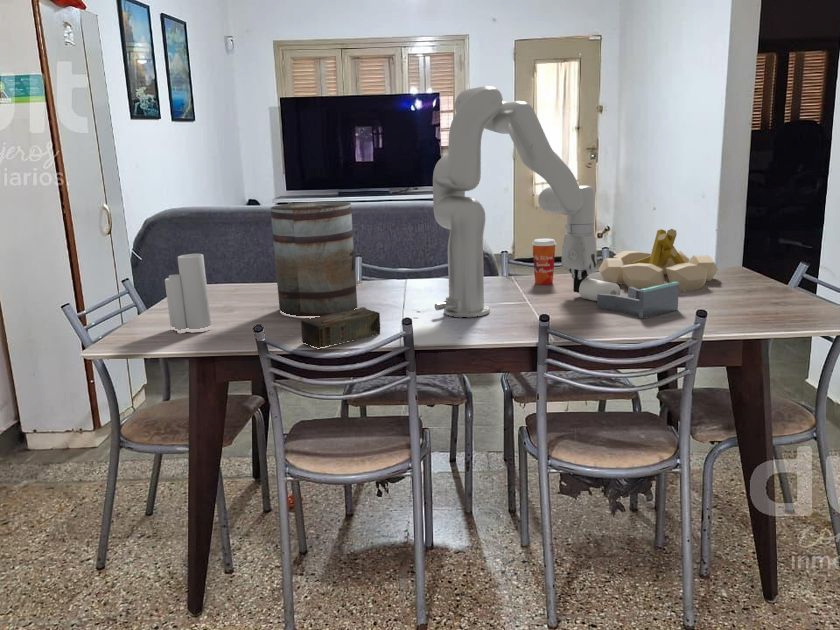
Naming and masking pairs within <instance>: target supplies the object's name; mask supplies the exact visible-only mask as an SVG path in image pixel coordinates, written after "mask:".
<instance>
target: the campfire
mask: <svg viewBox="0 0 840 630" xmlns="http://www.w3.org/2000/svg"><path fill="white" fill-rule="evenodd" d="M677 236H678V235H677V230H676V229H673V228H670V229H668V230H667V231H666V230H665V229H661V228H660V229H657V231H656V235H655V238H654V242H653V246H652V249H651V253H648V252H645V251H639V250H638V251H637V250H624V251H620V252H619V253H617V254H615V255H614V256H613V257H609V258H608V257H606V258H604V259H603V261H602V262H601V264H600V266H599V267H598V272H599V274H600V275H601V277H602V279H603V281H605V282H611V283H616V284H618V285H622V284H623V283H624V284H625V285H626V286H627V288H628V287H634V288H637V289H639V290H640V289H644V288H648V287H653V286H657V285H662V284H665V277H664V275H665V274H667V275H666V276H667V278H668V281H669V282H668V283H671V282H679V291H681V292H688V291H696V290H701V289H702V288H703V287H704V285H706V282H711V281H712V280H713V278H714V277H715V275H716V274H717V272H718V271H719V268H718V267H717V265H716V263H715V261H714V260H713V258H712V257H711V256H710V255H708V254H707V255H706V254H704V255H703V254H701V255H698V254H697V255H692V256H691V257H690V258H689V257H687V255H686V254H685V253H684V252H683V251H682V250H677V249H676V248H675V246H674V244H675V240H676V238H677Z"/></svg>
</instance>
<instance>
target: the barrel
mask: <svg viewBox="0 0 840 630" xmlns="http://www.w3.org/2000/svg"><path fill="white" fill-rule="evenodd" d="M269 208H270V217H271V228H272V229H271V230H272V242H273V252H274V262H275V263H274V264H275V273H276V283H277V284H276V285H277V295H278V296H277V298H278V304H279V305H278V307H279V311H280V310H281V311H282V312H284V313H286V314H290V315H296V316H325V315H330V314H335V313H340V312H345V311H350V310H354V309H355V308H357V309H358V296H357V282H356V281H357V280H356V279H357V277H356V262H355V250H354V249H355V248H354V233H353V232H354V231H353V217H352V216H353V215H352V204H351V202H349V201H347V202H346V201H309V202H295V203H286V204H280V205H274V206H272V207H271V206H270V207H269Z"/></svg>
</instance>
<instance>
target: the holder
mask: <svg viewBox="0 0 840 630" xmlns="http://www.w3.org/2000/svg"><path fill="white" fill-rule="evenodd" d="M627 288H628V289H627V290H628V291H627V296H623V295H620V296H619V295H611V294H600V293H599V294H597V301H596V309H597V308H599V309H598V310H607V309H610V310H609V311H615V310H616V312H620V311H621V312H620V313H624V312H625V313H624V314H628V313H630V315H633V314H634V315H633V316H637V315H639V316H638V319H640V318H645V319H647V318H646V317H649V318H651V317H650V316H653V317H655V316H654V315H657V316H659V315H658V314H660V315H663V313H664V314H667V312H668V313H671V311H672V312H676V311H679V310H678V309H679V308H678V307H679V294H680V293H679V291H680V290H679V282H671V283H670V282H667V283H664V284H662V285H657V286H653V287H648V288H644V289H640V290H639V289H637V288H634V287H628V286H627ZM675 310H676V311H675Z"/></svg>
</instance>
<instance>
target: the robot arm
mask: <svg viewBox="0 0 840 630" xmlns="http://www.w3.org/2000/svg"><path fill="white" fill-rule="evenodd" d="M454 109H455V110H454V111H455V114H454V116H453V118H452V121H451V123H450V127H449V130H448V131H449V133H448V149H447V154H446V155H444V156H442V157H441V158H440V159H439V160H438V161H437V162H436V164H435V167H434V169H433V175H432V201H433V202H432V203H433V207H432V208H433V216H434V220H435V221H436V222H437V224H438V225H439V226H440V227H442V228H444V229H447V230H449V234H448V235H449V236H448V240H447V241H448V242H447V266H448V267H447V268H448V272H447V273H448V296H447V297H445V300H444V301H443V302H437V303H435V304H434V309H435V311H442V310H443V313H444V315H446V316H448V315H449V317H452V316H454V317H453V318H462V317H467V318H476V317H477V316H478V317H483V316H485V315H488V314H489V313H490V311H491V310H490V308H491V307H490V306H488V305H486V304H485V293H484V292H485V290H484V289H485V286H484V284H485V282H484V281H485V279H484V235H485V234H484V233H485V227H486V212H485V208H484V207H483V204H481V202H480V201H479V200H477V199H476V198H474V197H471V196H466V192H470V191H473V190H475V189H476V188H477V187H478V186H479V184H480V182H481V177H482V175H481V173H482V170H481V169H482V166H481V165H482V164H481V163H482V161H481V159H482V154H481V153H482V151H481V150H482V136H483V134H484V133H483V132H484V130H488V131H490V132H494V133H497V134H502V135H503V134H504V135H505V134H506V135H509V136H510V138H511V140H512V142H513V145H514V147H515V149H516V151H517V153H518V156H519V158H520V159H521V162H522V163H523V164H524V165H525V166H526V167H527V168H528V169H529V170H531V171H533V173H536V174H537V175H539V176H540V177H541V178H542V179H544V181H545V182H546V183H547V184H548V185H549V187H546V188H544V189H542V190H541V192H540V193H539V195H538V200H537V201H538V205H539V207H540V208H541V209H542V210H543V211H544V212H546V213H549V214H554V215H555V214H556V215H561V216H566V224H565V228H566V233H565V234H564V236H563V241H562V248H561V265H562V266H563V268H564V269H565V270H566V271H567V272H570V274H571V278H572V279H573V287H572V288H573V289H572V290H573V292H574V293H578V294H579V287H580V284H581V282H582V281H583V280H584V279H586V278H588V276H589V275H593V274H595V273H596V271H595V269H596V267H597V265H598V264H597V262H598V260H597V259H598V257H597V255H598V253H597V241H596V236H595V234H594V231H595V230H594V229H595V228H594V226H595V225H594V223H595V222H594V221H595V220H594V218H595V217H594V216H595V190H594V187H593V186H591V185H579V183H578V181H577V178H576V177H575V175H574V173H573V172H572V170H571V169H570V167H569V166H568V165H567V164H566V163H565V162H564V161H563V160H562V159H561V157H560V156H559V155H558V154H557V153H556V152H555V151H554V149H553V148H552V147H551V144H550V142H549V140H548V137H547V135H546V134H545V131H544V129H543V127H542V125H541V122H540V120H539V118H538V116H537V114H536V112H535V109H534V108H533V107H532V105H531V104H530V103H529V102H526V101H523V100H522V101H521V100H515V101H508V102H507V101H503V95H502V92H501V91H500V90H499V89H498V88H496V87H494V86H489V85H486V86H484V85H483V86H478V87H473V88H468V89H464V90H463V91H461V92H460V93H459V94H458V95H457V96H456V98H455V102H454ZM478 317H477V318H478Z"/></svg>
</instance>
